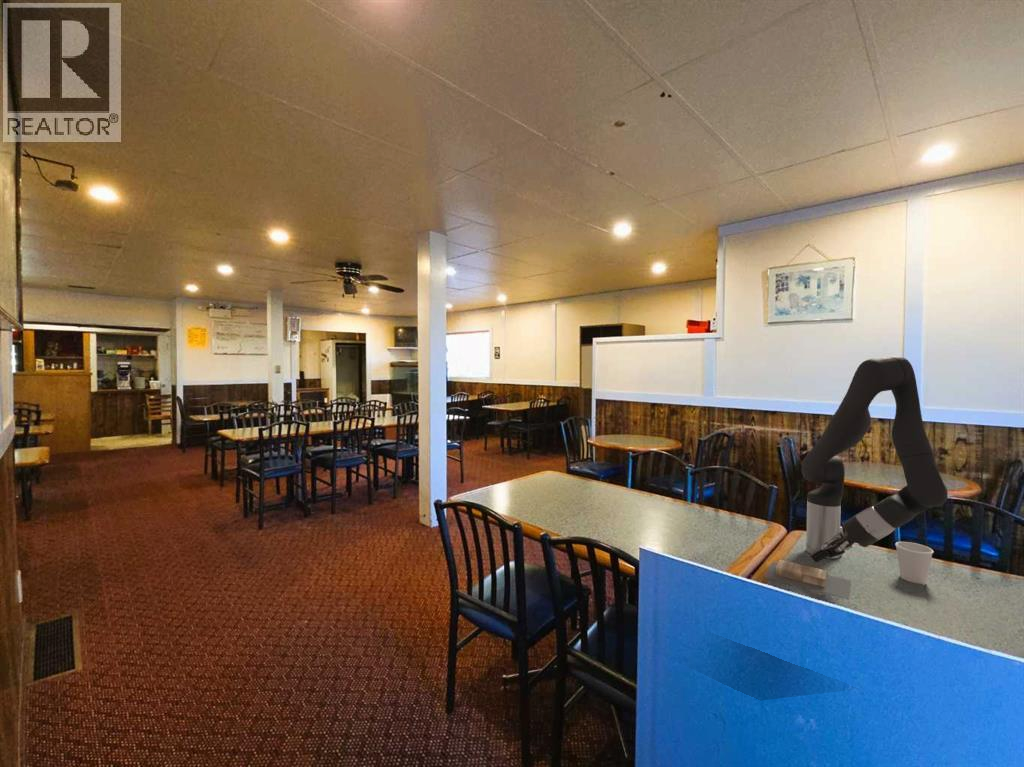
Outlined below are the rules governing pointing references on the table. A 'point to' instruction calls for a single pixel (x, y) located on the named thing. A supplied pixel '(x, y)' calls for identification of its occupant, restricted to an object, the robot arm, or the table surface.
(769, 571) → the rubber mat
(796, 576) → the maple block
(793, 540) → the table surface
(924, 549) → the dixie cup
